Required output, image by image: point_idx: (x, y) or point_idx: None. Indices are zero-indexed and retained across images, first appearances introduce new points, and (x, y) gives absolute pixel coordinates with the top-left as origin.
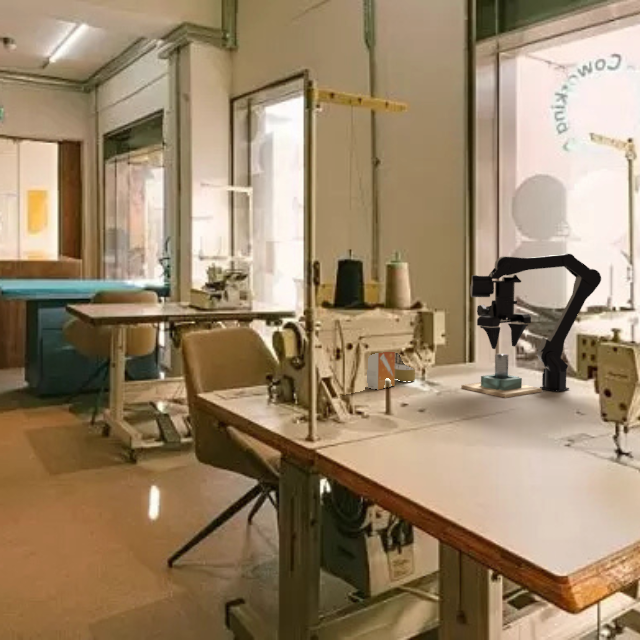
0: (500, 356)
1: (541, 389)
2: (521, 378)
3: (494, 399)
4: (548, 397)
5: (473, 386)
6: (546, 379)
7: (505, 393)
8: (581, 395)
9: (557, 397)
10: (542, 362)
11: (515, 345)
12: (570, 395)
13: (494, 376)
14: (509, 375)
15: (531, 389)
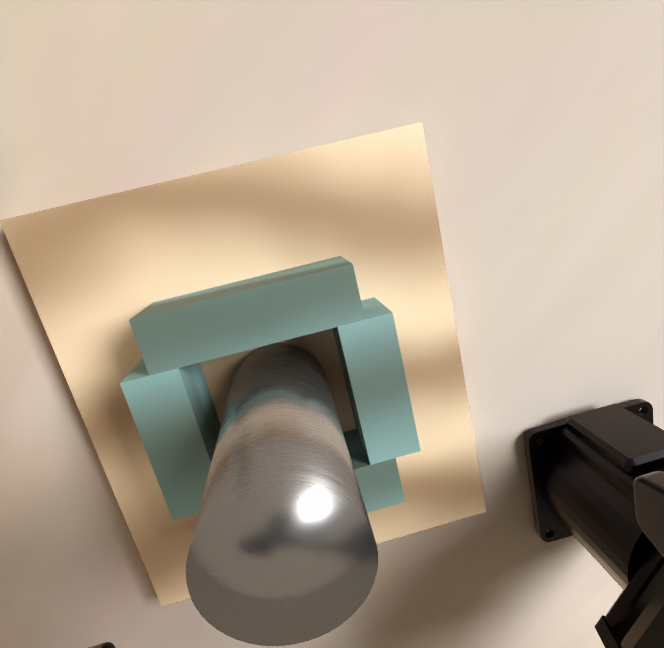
0: (220, 615)
1: (481, 507)
2: (402, 500)
3: (75, 610)
4: (402, 631)
5: (75, 313)
6: (578, 506)
7: (175, 586)
8: (585, 628)
9: (444, 641)
10: (657, 592)
11: (661, 542)
12: (539, 616)
13: (260, 345)
14: (390, 377)
15: (407, 524)
